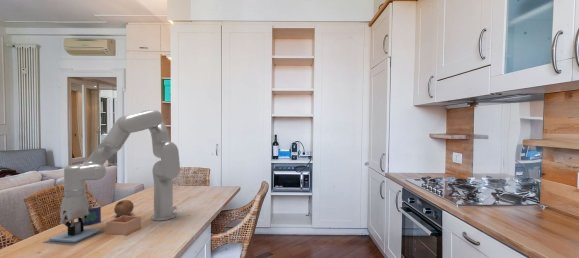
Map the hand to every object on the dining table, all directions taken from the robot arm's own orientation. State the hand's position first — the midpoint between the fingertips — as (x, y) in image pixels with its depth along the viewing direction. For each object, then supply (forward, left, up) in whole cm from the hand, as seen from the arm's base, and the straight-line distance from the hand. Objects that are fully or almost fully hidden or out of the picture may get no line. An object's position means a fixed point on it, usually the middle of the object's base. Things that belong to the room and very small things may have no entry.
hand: (75, 232), depth 128 cm
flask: (-16, -8, -3) cm, 18 cm away
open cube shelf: (-11, +16, -2) cm, 19 cm away
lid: (0, 0, -1) cm, 1 cm away
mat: (0, 0, -2) cm, 2 cm away
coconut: (-33, -3, -3) cm, 33 cm away
